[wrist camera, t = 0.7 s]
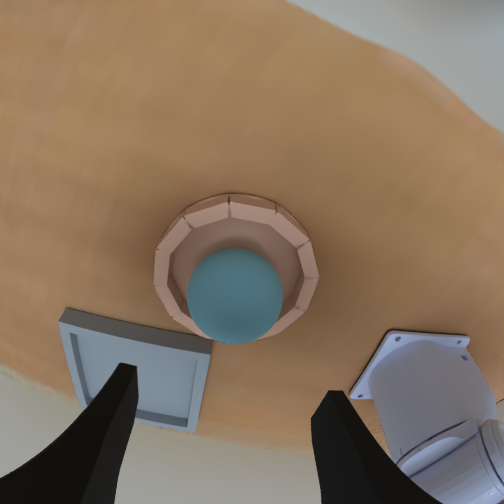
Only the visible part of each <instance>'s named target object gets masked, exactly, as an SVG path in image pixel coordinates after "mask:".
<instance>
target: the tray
mask: <svg viewBox="0 0 504 504" xmlns="http://www.w3.org/2000/svg"><path fill="white" fill-rule="evenodd" d="M58 323H59V328H60V333H61V337H62V342H63V346H64V351H65V355H66V359H67V363H68V367H69V371H70V375H71V378H72V382H73V385H74V389H75V392H76V396H77V399H78V402H79V405H80V407H81V408H84V409H86V407H87V406H88V405H89V404H90V403H91V401H92V400H93V399H94V398H95V396H96V395H97V394H98V392H99V391H100V390H101V389H102V387H103V386H104V384H105V383H106V382H107V380H108V379H109V377H110V376H111V375H112V373H113V372H114V370H115V368H116V367H117V365H118V364H119V363H121V362H122V363H126V364H131V365H135V366H137V374H138V392H139V400H138V405H137V410H136V415H135V420H134V422H138V423H143V424H148V425H152V426H157V427H163V428H168V429H174V430H180V431H186V432H192V433H195V432H196V427H197V422H198V417H199V411H200V406H201V401H202V396H203V391H204V386H205V381H206V376H207V371H208V366H209V361H210V356H211V347H212V339H207V338H204V337H200V336H194V335H189V334H183V333H178V332H172V331H167V330H162V329H157V328H152V327H147V326H142V325H137V324H133V323H128V322H124V321H119V320H115V319H110V318H106V317H102V316H98V315H94V314H89V313H85V312H81V311H78V310H74V309H70V308H66V310H65V311H64V313H63V314H62V316H61V318H60V319H59V321H58Z"/></svg>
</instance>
